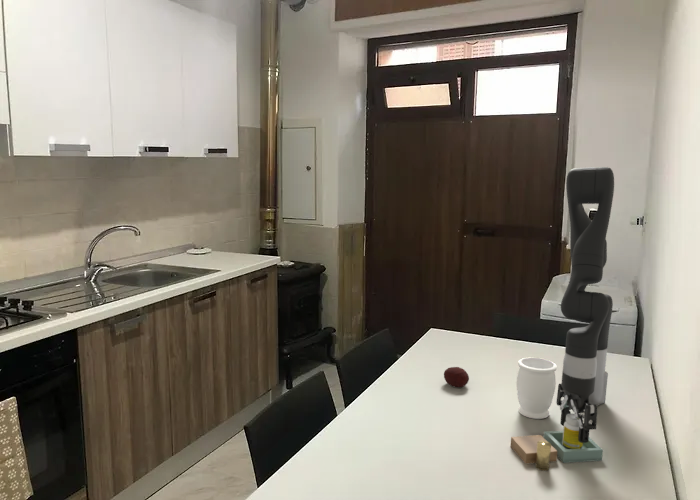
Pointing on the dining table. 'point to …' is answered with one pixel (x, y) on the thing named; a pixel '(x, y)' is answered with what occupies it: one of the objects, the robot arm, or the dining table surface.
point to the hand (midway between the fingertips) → (573, 433)
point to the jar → (535, 386)
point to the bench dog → (543, 455)
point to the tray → (587, 452)
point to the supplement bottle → (571, 433)
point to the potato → (456, 377)
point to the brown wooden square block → (530, 448)
